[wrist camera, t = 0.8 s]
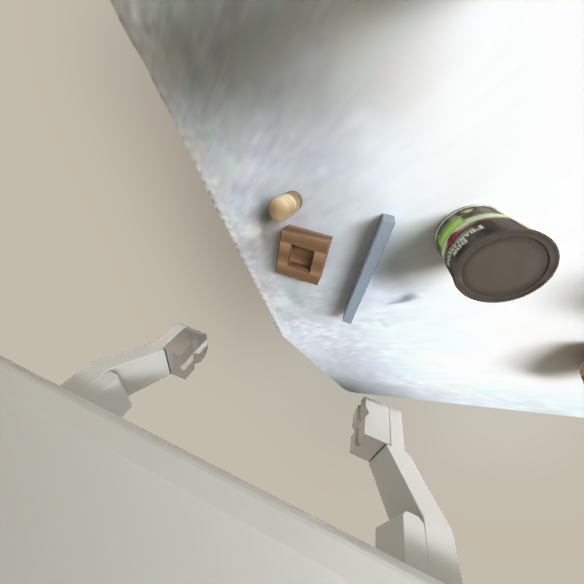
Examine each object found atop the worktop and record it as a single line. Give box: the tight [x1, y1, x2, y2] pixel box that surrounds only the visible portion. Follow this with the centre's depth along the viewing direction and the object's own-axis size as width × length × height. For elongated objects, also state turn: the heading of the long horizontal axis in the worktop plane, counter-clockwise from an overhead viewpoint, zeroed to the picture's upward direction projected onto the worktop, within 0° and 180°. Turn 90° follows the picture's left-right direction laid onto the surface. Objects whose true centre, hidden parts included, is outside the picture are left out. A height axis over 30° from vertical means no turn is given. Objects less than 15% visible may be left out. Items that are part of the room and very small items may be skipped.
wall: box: [342, 214, 395, 324], centre depth 47 cm, size 24×2×5 cm, turn 170°
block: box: [276, 225, 332, 285], centre depth 49 cm, size 10×10×4 cm
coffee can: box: [435, 205, 560, 303], centre depth 34 cm, size 10×10×14 cm
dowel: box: [268, 191, 302, 221], centre depth 43 cm, size 4×4×8 cm
